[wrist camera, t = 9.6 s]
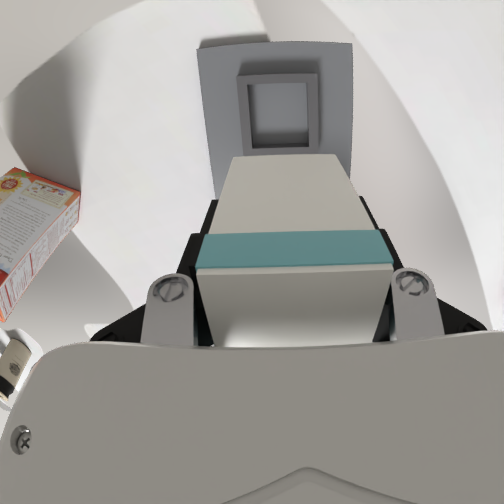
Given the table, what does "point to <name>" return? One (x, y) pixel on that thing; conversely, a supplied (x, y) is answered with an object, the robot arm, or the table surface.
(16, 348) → the travel mug
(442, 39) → the table surface
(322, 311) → the white teal-banded block
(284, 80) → the grey docking base
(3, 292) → the cracker box
